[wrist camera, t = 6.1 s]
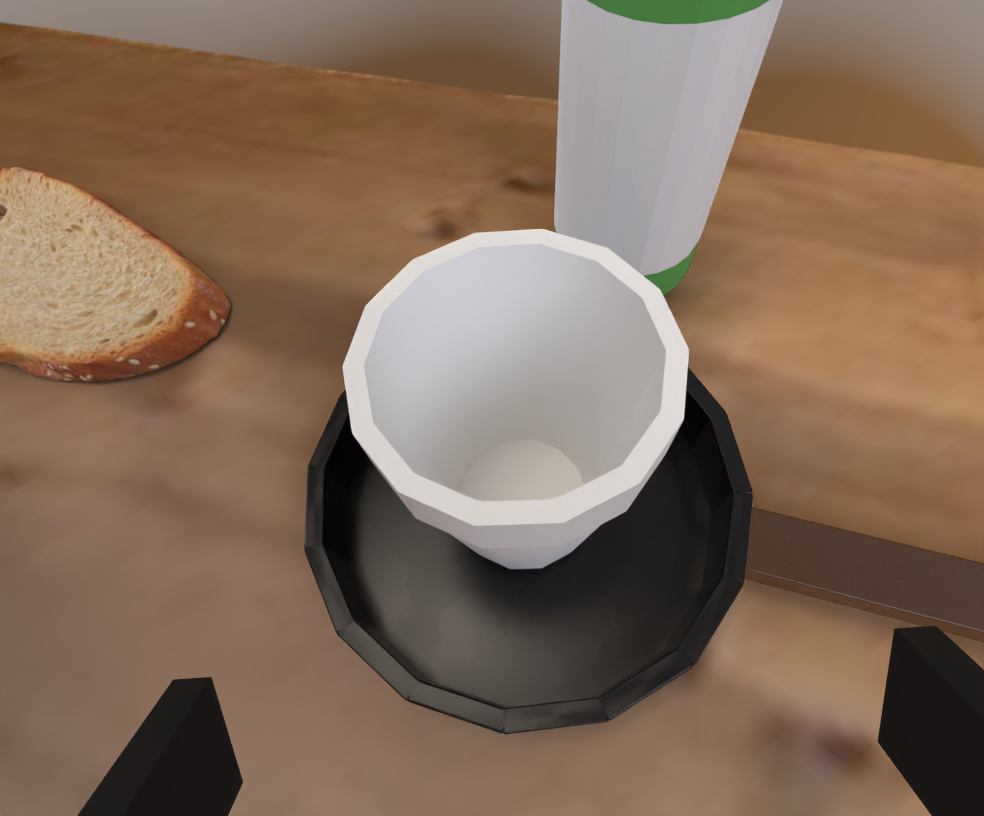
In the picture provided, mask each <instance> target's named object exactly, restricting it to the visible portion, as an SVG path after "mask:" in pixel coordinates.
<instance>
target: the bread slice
mask: <svg viewBox="0 0 984 816" xmlns="http://www.w3.org/2000/svg"><path fill="white" fill-rule="evenodd" d="M0 170H1V171H0V362H1V363H8V364H13V365H16V366H19V367H20V368H22V369H23V370H25V371H26V372H28V373H29V374H31V375H34V376H39V377H46V378H50V379H54V380H58V381H65V380H67V381H73V380H78V381H112V380H116V379H120V378H128V377H134V376H136V375H139V374H143V373H149V372H153V371H156V370H158V369H160V368H162V367H164V366H167V365H169V364H172V363H175V362H177V361H179V360H181V359H183V358H184V357H186V356H188V355H190V354H192V353H193V352H195V351H197V350H198V349H200V348H201V347H202V346H203V345H204V344H205V343H206V342H208V341H209V340H211V339H213V338H215V337H217V335H218V333H219V331H220V329H221V328H222V326H223V325H224V324H225V322H226V319H227V316H228V314H229V311H230V302H229V300H228V299H227V297H226V296H225V294H224V293H223V291H222V289H221V288H219V287H218V286H217V285H216V284H214V283H213V282H212V281H211V279H210V278H209V277H208V276H207V275H206V274H205V273H204V272H203V271H202V270H201V269H200V268H199V267H198V266H197V265H195V264H194V263H193V262H191V261H190V260H189V259H187V258H186V257H185V256H183V255H182V254H181V253H180V252H179V251H177V250H176V249H175V248H173V247H172V246H171V245H169V244H167V243H165V242H164V241H162V240H161V239H159V238H158V237H157V236H156V235H154V234H153V233H151V232H149V231H148V230H146V229H144V228H142V227H140V226H139V225H137V224H136V223H135V222H134V221H132V220H130V219H129V218H127V217H126V216H125V215H123V214H122V213H120V212H119V211H117V210H116V209H114V208H113V207H112V206H111V205H109V204H107V203H106V202H104V201H102V200H101V199H99V198H97V197H96V196H94V195H92V194H90V193H88V192H86V191H84V190H82V189H81V188H79V187H77V186H75V185H73V184H70V183H68V182H65V181H61V180H58V179H55V178H52V177H50V176H48V175H46V174H44V173H41V172H36V171H31V170H28V169H24V168H20V167H13V168H10V169H4V168H3V169H0Z"/></svg>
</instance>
